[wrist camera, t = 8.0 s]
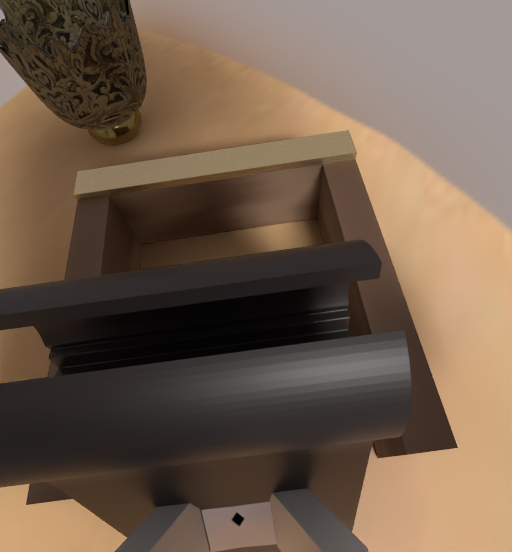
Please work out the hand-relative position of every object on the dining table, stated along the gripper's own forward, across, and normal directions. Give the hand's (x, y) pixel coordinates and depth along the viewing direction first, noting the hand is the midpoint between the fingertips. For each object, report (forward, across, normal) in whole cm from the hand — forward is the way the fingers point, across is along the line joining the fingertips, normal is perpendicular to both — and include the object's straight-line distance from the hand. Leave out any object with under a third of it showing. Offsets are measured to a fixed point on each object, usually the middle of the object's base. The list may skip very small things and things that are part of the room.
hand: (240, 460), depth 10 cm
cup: (+19, +7, -12) cm, 23 cm away
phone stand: (+5, 0, +3) cm, 5 cm away
